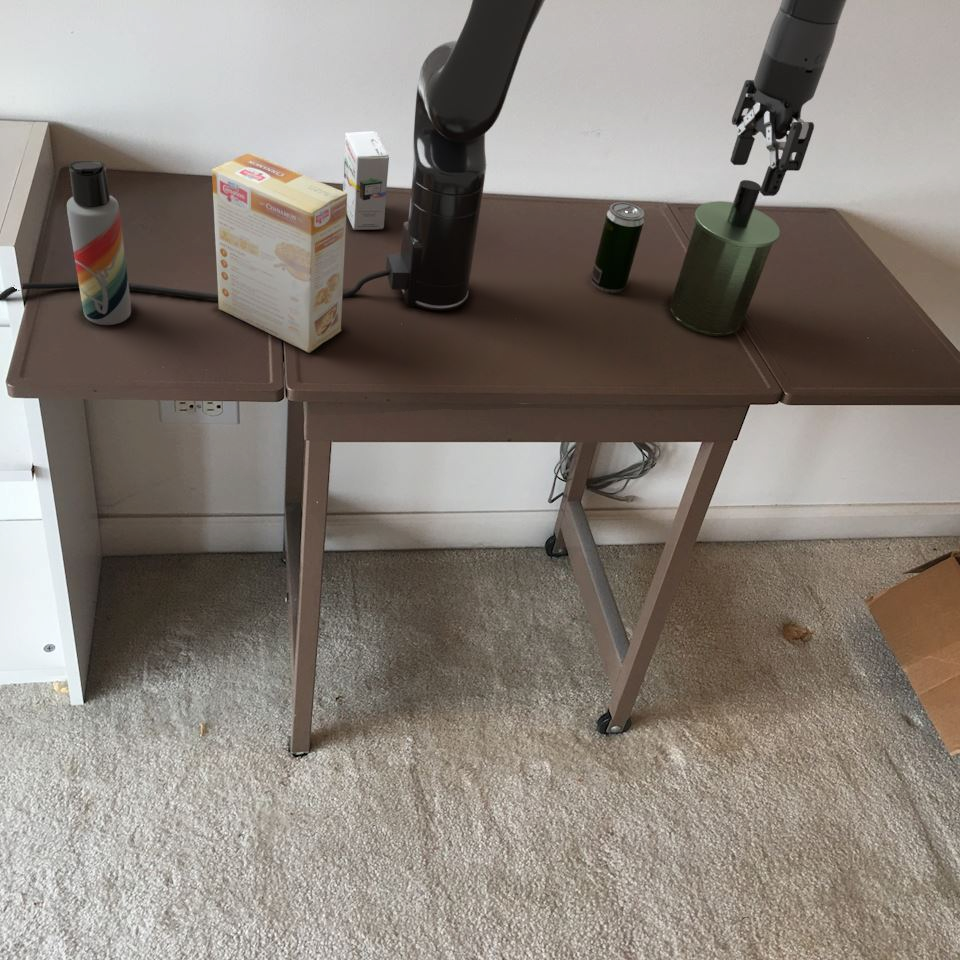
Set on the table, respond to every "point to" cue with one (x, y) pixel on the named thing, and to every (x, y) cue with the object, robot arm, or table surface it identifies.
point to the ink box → (365, 179)
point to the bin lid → (738, 219)
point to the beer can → (617, 247)
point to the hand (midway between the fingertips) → (752, 178)
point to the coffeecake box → (279, 250)
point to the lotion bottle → (98, 245)
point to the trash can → (716, 284)
